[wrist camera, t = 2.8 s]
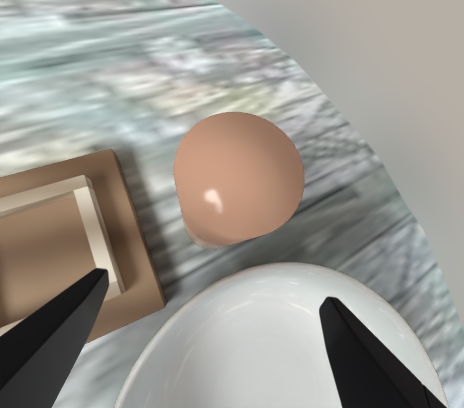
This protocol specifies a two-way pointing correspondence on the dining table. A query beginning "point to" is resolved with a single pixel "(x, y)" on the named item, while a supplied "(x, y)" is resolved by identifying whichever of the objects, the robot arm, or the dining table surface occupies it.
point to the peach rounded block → (236, 179)
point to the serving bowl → (263, 343)
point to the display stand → (74, 241)
